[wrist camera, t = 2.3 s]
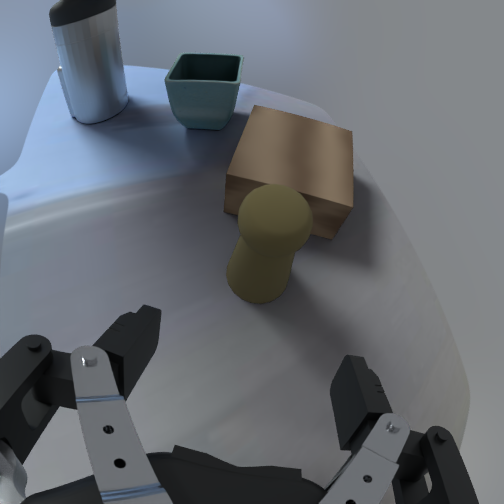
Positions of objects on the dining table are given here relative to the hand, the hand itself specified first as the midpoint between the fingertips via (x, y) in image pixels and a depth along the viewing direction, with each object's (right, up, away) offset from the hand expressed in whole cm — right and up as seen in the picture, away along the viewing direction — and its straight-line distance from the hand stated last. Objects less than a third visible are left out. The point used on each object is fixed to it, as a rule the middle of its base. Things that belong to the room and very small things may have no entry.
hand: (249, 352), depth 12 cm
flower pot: (-6, +23, +27) cm, 36 cm away
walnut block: (+4, +12, +23) cm, 26 cm away
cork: (+1, +2, +17) cm, 17 cm away
